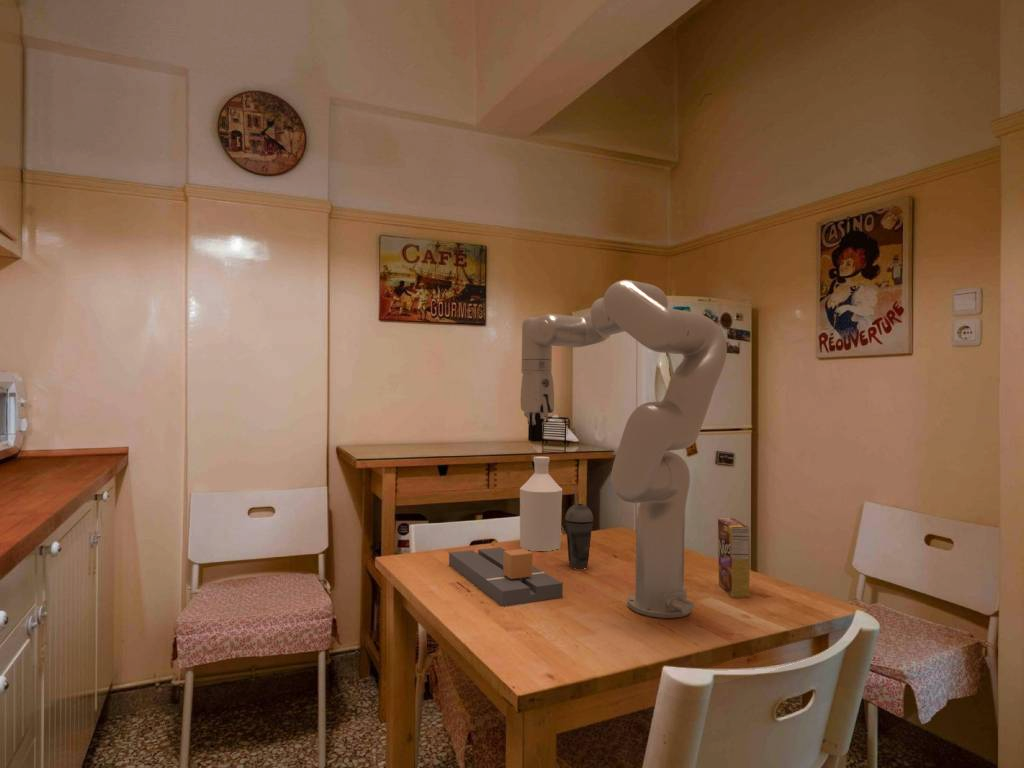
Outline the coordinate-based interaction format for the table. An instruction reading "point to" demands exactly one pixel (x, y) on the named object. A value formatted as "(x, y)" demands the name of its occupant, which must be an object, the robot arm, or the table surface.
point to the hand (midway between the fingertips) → (535, 440)
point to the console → (503, 578)
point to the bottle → (540, 510)
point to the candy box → (733, 557)
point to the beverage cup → (578, 534)
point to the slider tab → (517, 564)
